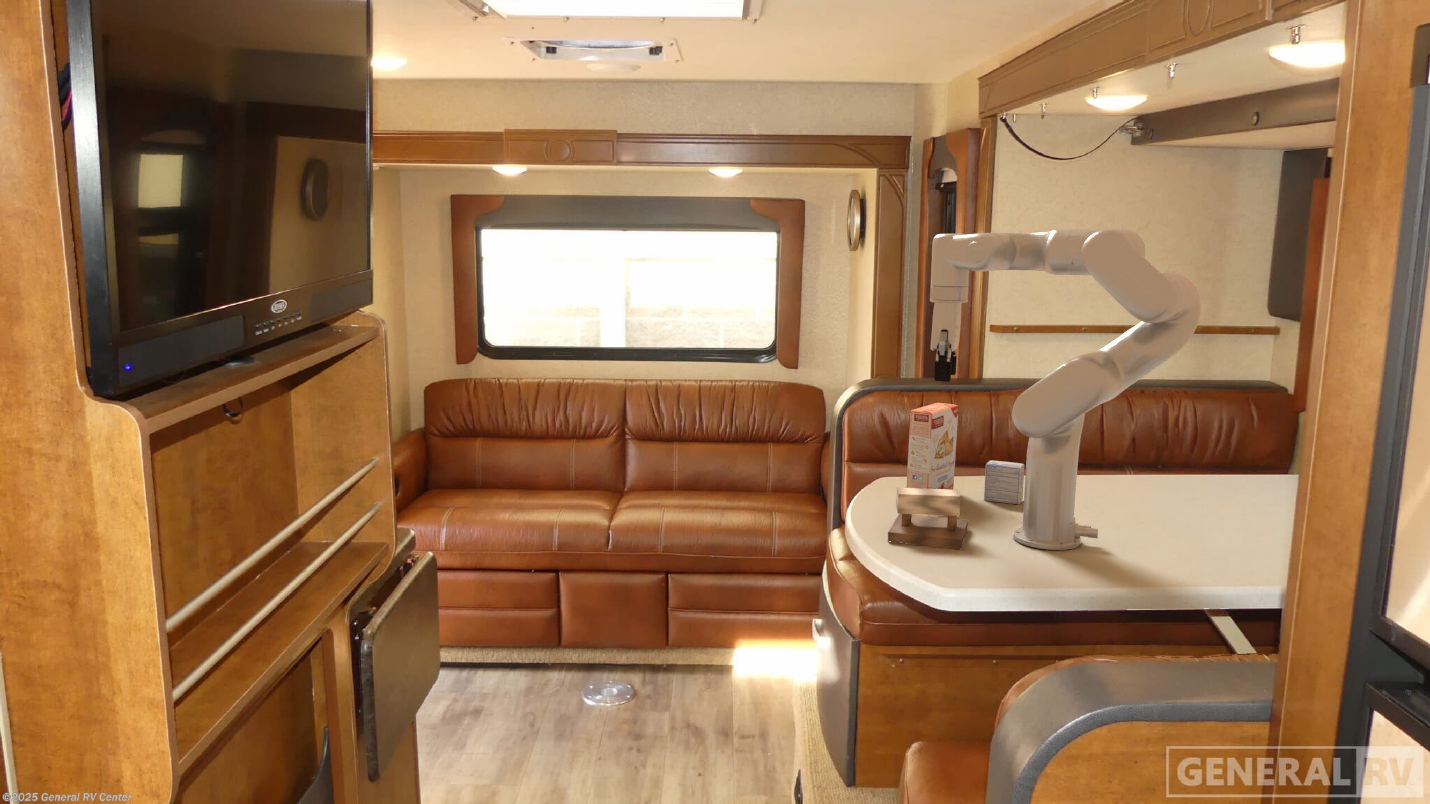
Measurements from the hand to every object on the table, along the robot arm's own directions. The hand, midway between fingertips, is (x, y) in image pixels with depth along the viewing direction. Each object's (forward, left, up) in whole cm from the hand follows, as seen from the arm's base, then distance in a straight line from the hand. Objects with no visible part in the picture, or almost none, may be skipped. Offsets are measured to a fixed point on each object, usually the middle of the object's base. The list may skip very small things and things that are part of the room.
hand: (945, 377), depth 209 cm
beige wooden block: (+1, +13, -25) cm, 28 cm away
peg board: (0, +13, -30) cm, 33 cm away
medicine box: (-12, -20, -31) cm, 38 cm away
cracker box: (+4, -18, -31) cm, 36 cm away
